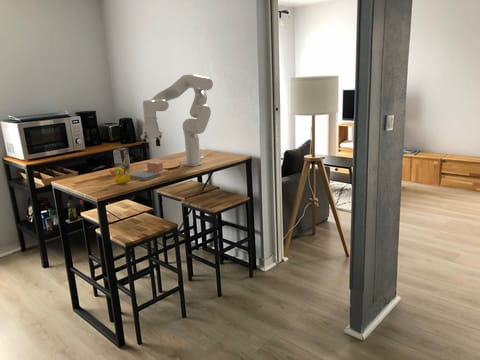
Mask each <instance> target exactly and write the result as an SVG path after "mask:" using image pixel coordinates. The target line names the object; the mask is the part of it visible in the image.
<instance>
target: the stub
mask: <svg viewBox="0 0 480 360" xmlns="http://www.w3.org/2000/svg"><path fill="white" fill-rule="evenodd" d="M142 170H143V171H149V172H155V173H159V177H161V176H165V175H167V174H170V171H169V169H165V168H164V165H163V162H161V161H154V160H152V161H146V168H145V169H142Z"/></svg>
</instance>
